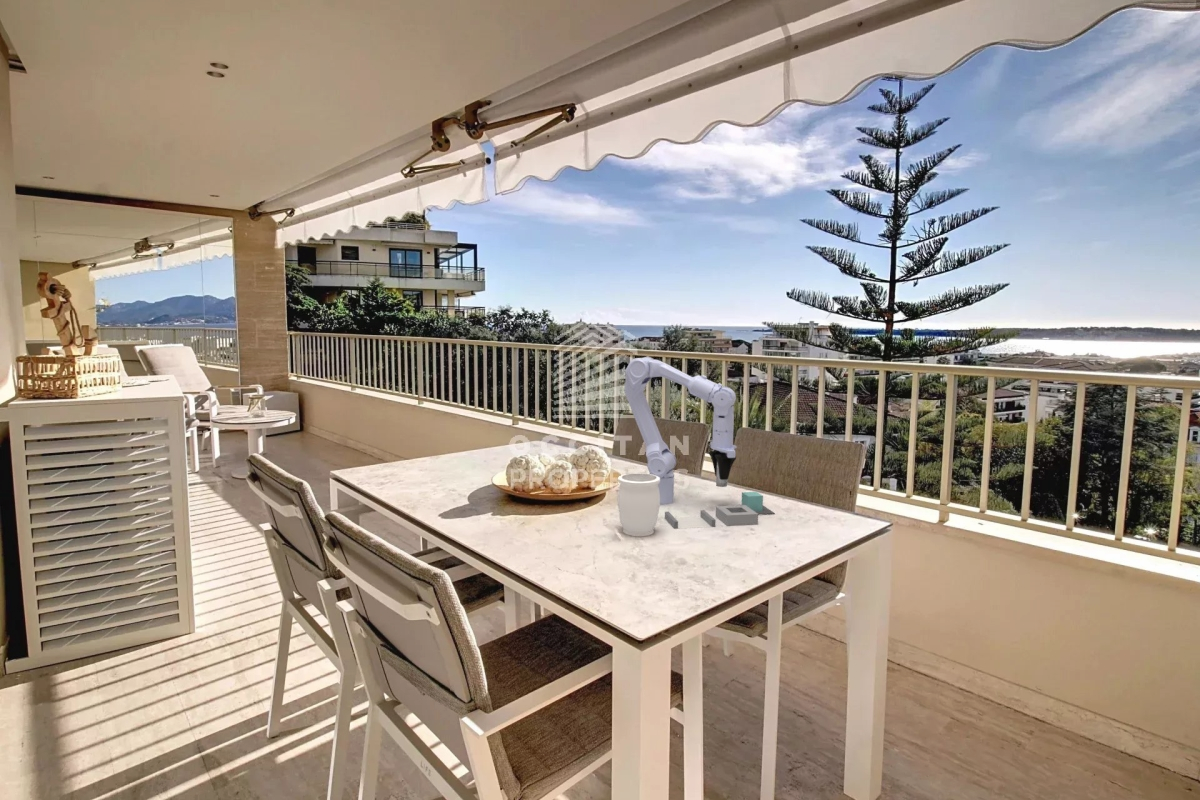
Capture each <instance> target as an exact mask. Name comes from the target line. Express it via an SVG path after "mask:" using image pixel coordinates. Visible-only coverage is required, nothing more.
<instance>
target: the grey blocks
mask: <svg viewBox="0 0 1200 800" xmlns="http://www.w3.org/2000/svg"><path fill="white" fill-rule="evenodd" d="M699 514H700V515H699V516H683V517H674V516H673V514H672V513H671V512H669V511H664V519H665V520H666V521H667V523H668V524H669V525H670V526H671V527H672V528H673V529H674V530H677V529H681V530H682V529H696V528H697V529H698V528H715V527H716V519H718V521H720V522H722V524H724V525H725V526H726V527H733V526H734V527H738V526H754V525H757V526H758V525H759V515H758V513H756V512H755V511H753V510H752V509H750V508H749V507H748V506H746V505H741V504H737V505H735V504H734V505H716V506H715V517H713V516H711V514H709V513H708V512H707V511H706V510H705V509H700V513H699ZM715 518H716V519H715Z"/></svg>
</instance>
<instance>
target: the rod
mask: <svg viewBox="0 0 1200 800" xmlns="http://www.w3.org/2000/svg"><path fill="white" fill-rule="evenodd" d="M715 477H716V479H715V480H716V481H715V485H716V487H720V488H726V487H728V479H727V480H721V479H720V477H719V468H718V463H717V476H715Z"/></svg>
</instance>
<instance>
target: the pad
mask: <svg viewBox="0 0 1200 800" xmlns="http://www.w3.org/2000/svg"><path fill="white" fill-rule="evenodd" d="M756 513H758V516H760V515H759V514H768V515H776V513H775V512H774V511H772V510H771V509H770V508H767V507H766V506H765V505H763V511H756Z"/></svg>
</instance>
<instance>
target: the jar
mask: <svg viewBox="0 0 1200 800" xmlns="http://www.w3.org/2000/svg"><path fill="white" fill-rule="evenodd" d="M617 477H618V479H617V481H618V483H619V484H620V485H619V487H618V488H619V489H618V493H617V509H618V515H619V522H620V525H621V527H622V528H623V530H622V533H623V534H626V535H628V536H634V537H643V536H644V537H645V536H651V535H653V534H654V533H655V531H654V529H655V527H656V525H657V524H658V523H657V522H658V518H659V511H660V493H659V487H658V484H659V483H660V478H659V477H658V476H655V475H651V474H650V473H643V472H642V473H641V472H640V473H638V472H636V473H624V474H622V475H619V476H617Z"/></svg>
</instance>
